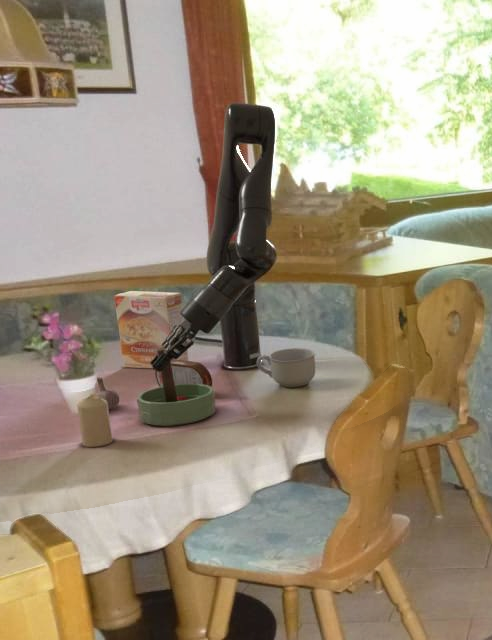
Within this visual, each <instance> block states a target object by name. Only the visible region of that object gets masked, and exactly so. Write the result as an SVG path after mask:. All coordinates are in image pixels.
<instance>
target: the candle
mask: <svg viewBox="0 0 492 640" xmlns="http://www.w3.org/2000/svg"><path fill="white" fill-rule="evenodd" d="M90 395H91V394H90ZM90 395H88V396H87V397H85V398H82V400H80V401H79V402H78V403H77V404H76V407H77V414H78V422H79V428H80V434H81V441H82V445H83V446H84V447H86V448H87V447H88V448H94V447H95V448H96V447H102V446H106V445H109V444H110V443H112V442H113V433H112V426H111V419H110V412H109V411H110V410H109V411H108V404H107V401H106V400H104V399H102V398H101V397H98V396H97V395H91V396H90Z"/></svg>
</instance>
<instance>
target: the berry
mask: <svg viewBox="0 0 492 640" xmlns="http://www.w3.org/2000/svg"><path fill="white" fill-rule="evenodd" d="M177 400H183V401H184V400H186V398H185V397H183V396H178V397H177Z"/></svg>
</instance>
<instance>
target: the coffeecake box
mask: <svg viewBox="0 0 492 640" xmlns="http://www.w3.org/2000/svg"><path fill="white" fill-rule="evenodd" d="M114 305H115V311H116V319H117V325H118V334H119V342H120V349H121V356H122V364H123V365H122V366H123V368H133V369H135V368H136V369H154V368H153V367H152V365H151V363H150V362H151V361H152V360H153V359H154V357H155V356H156V355H157V349H159V348H161V347H162V343H163V342H164V341H165V339H166V338H167V336H168V335H169V334H170V332H171V331H172V329H173V328H174V326H176V325H178V324H180V325H181V324H182V323H183V322H184V321H185V318H184V317H183V316H182V315H181V314H180V312H181V310H182V309H183V308H184V306H183V299H182V293H181V292H168V291H167V292H166V291H165V292H164V291H141V290H140V291H139V290H135V291H134V290H129V291H126V292H122V293H118V294H115V295H114ZM188 349H189V348H188ZM188 349H187V350H186V351H185V352H184V353H183V354H182V355H181V356H179V357H178V358H177V359H176V360H183V361H190V359H189V350H188ZM176 351H177V350H176ZM176 351H175V352H176ZM154 370H155V369H154Z"/></svg>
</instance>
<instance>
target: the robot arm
mask: <svg viewBox="0 0 492 640" xmlns="http://www.w3.org/2000/svg"><path fill="white" fill-rule="evenodd" d="M222 139H223V140H222V156H221V157H222V158H221V164H220V171H219V176H218V181H217V182H218V183H217V188H216V197H215V207H214V217H213V224H212V228H211V232H210V237H209V241H208V245H207V251H206V267H207V271H208V273H209V275H210V276H212V277H211V278H210V279H209V281H208V282H207V283H205V284H204V286H202V287H201V288H200V289H198V291H197V292H196V293H195V295H193V297H192V298H191V299H190V300H189V301H188V302H187V303H186V305H184V306H183V309H182V310H181V312H180V314H181V315H182V316H183V317H184V322H183V323H182V324H181V325H180V324H178V325H176V326H174V328H173V329H172V331H171V332H170V334H169V335H168V336H167V338H166V339H165V341H164V342H163V343H162V347H161V348H164V347H166V350H164V352H163V353H162V355H161V356H160V357H159V358H158V355H156V356H155V357H154V359H153V360H152V361H151V362H150V363H151V365H152V367H153V368H154V371H155V370H157V371H158V372H161V371H162V370H163V369H164V368H165V367H166V366H167V364H168V363H169V362H170V361H171V360H173V359H177V358H178V357H179V356H181V355H182V354H183V353H184V352H185V351H186V350H187V349H190V348H191V347H192V346H193V345H194V343H195V340H196V341H202V342H210V343H219V344H221V345H222V353H223V361H224V362H223V363H224V364H223V367H224V368H225V369H227V370H232V371H237V370H238V371H241V370H250V369H255V368H258V366H257V359H258V358H259V357H260V356H262V353H261V342H260V331H259V321H258V311H257V302H256V282H257V281H258V280H259V279H261V278H263V276H265V275H266V274H268V273H269V271H270V270H272V268H273V267H274V265H275V264H276V261H277V257H278V252H277V249H276V248H275V246H274V245H273V243H271V242H270V241H269V240H268V237H267V231H268V230H267V229H268V228H269V227H270V226H271V225H272V223H273V221H272V220H273V210H272V209H273V208H272V206H273V205H272V183H273V182H272V181H273V174H274V165H275V156H276V155H275V153H276V140H277V116H276V113H275V111H274V109H273V108H272V107H270V106H267V105H260V104H259V105H258V104H254V103H245V102H231V103H229V104H228V105H227V107H226V109H225V114H224V123H223V138H222ZM240 144H245V145H253V146H260V152H259V156H258V159H257V161H256V162H255V164H254V166H253V167H252V169H250V168H249V166H248V165H247V163H246V161H245V160H244V158H243V156H242V154H241V152H240V151H241V150H240V149H239V145H240ZM235 234H236V235H235ZM234 236H235V240H232V239H233V237H234ZM231 240H232V241H231ZM218 324H219V325H220V334H221V339H217V338H207V337H201V336H197V334H198V333H199V331H201V332H202V333H204V334H210V332H211V331H212V330H213V329H214V328H215V327H216V326H217V325H218ZM176 350H177V351H176ZM175 351H176V352H175ZM261 364H262V365H263V359H262V360H261ZM153 368H152V369H153Z"/></svg>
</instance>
